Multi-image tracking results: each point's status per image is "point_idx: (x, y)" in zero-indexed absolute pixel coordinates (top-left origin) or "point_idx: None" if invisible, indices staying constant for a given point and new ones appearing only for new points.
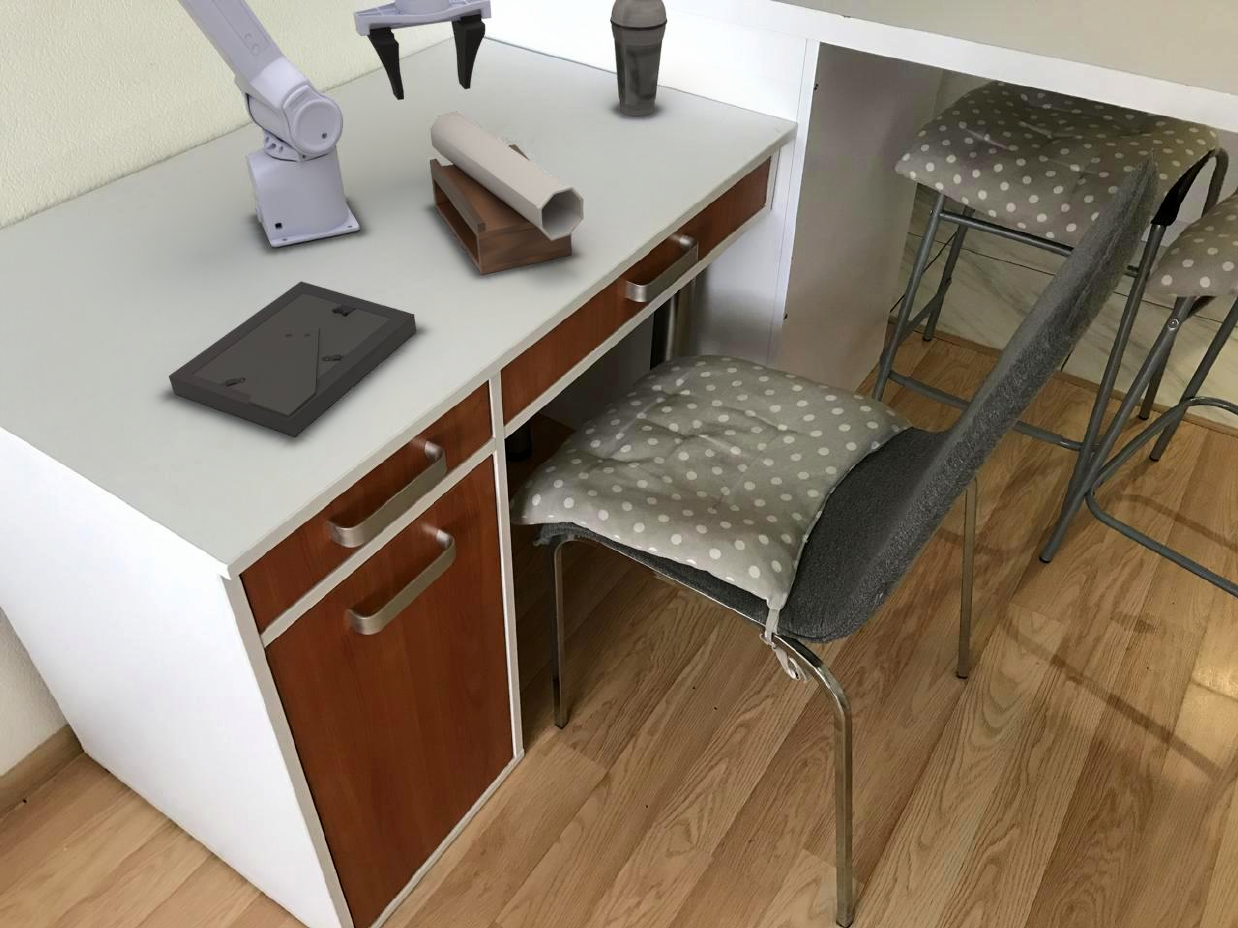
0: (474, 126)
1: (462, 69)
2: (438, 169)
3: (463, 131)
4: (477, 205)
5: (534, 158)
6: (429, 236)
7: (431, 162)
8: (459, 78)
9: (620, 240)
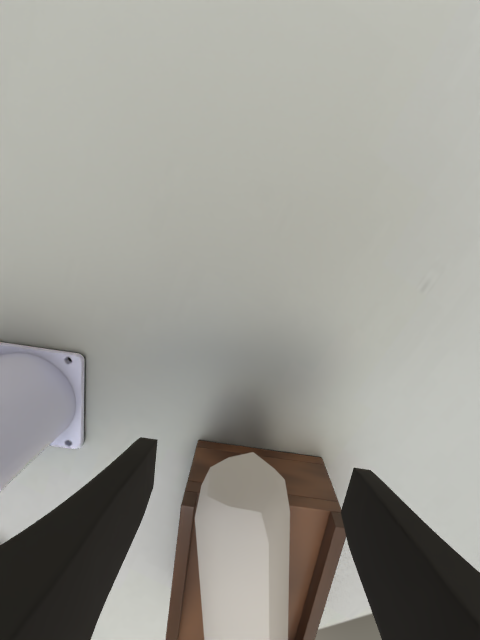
0: (260, 623)
1: (372, 565)
2: (179, 541)
3: (227, 628)
4: (196, 613)
5: (411, 379)
6: (161, 495)
7: (180, 515)
8: (359, 491)
9: (350, 602)
